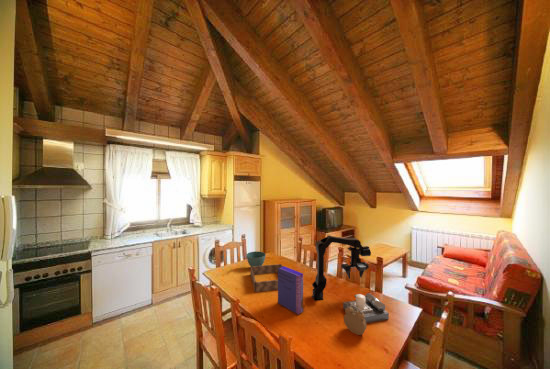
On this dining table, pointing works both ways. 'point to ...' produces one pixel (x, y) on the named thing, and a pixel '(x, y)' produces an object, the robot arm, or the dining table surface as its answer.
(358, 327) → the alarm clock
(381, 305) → the desk telephone
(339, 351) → the dining table surface
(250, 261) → the plant pot
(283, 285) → the cereal box
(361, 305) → the pump
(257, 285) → the serving tray rim
